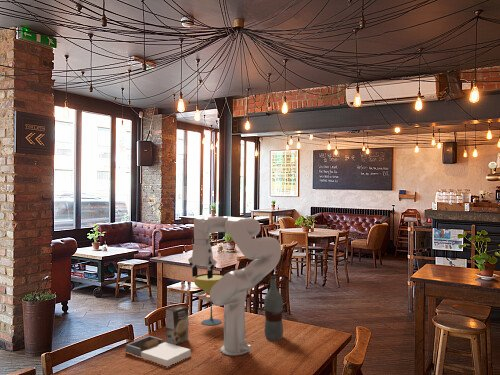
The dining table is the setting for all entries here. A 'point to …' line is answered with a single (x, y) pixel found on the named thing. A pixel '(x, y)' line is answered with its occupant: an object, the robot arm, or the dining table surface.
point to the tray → (134, 346)
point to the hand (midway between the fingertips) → (202, 277)
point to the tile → (149, 344)
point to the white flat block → (166, 354)
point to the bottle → (273, 312)
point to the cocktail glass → (206, 285)
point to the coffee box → (176, 325)
